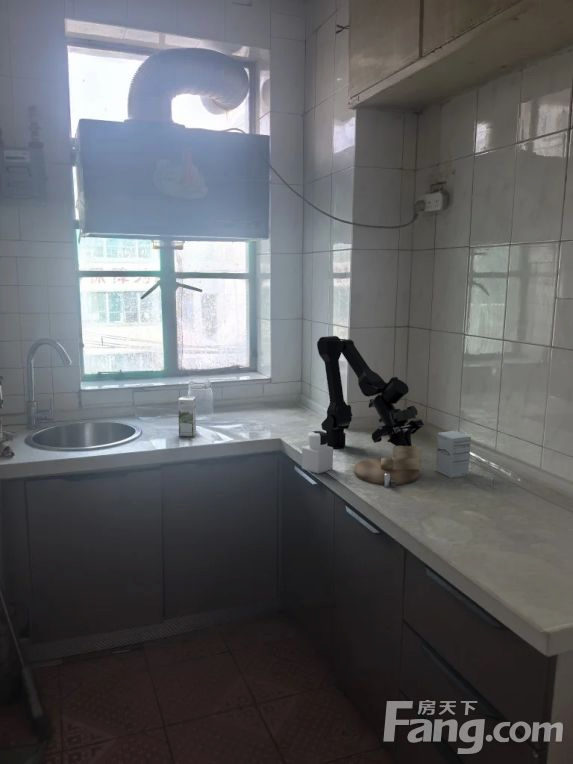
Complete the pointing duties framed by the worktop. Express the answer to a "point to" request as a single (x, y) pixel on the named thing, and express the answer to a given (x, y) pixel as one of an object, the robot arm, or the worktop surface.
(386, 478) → the steel dowel
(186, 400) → the syrup box
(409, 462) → the walnut flange plate
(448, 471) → the supplement box
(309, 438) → the medicine bottle
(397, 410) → the robot arm
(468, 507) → the worktop surface
